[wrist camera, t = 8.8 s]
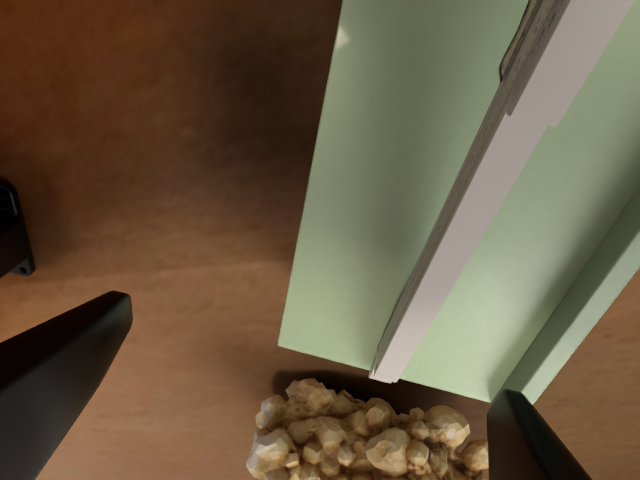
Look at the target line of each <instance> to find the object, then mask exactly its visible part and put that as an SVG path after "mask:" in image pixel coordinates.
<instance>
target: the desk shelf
mask: <svg viewBox="0 0 640 480" xmlns="http://www.w3.org/2000/svg"><path fill="white" fill-rule="evenodd" d="M528 1H529V0H343V1H342V6H341V12H340V17H339V22H338V27H337V33H336V38H335V43H334V49H333V54H332V59H331V64H330V70H329V75H328V80H327V85H326V91H325V96H324V101H323V106H322V112H321V117H320V122H319V127H318V133H317V138H316V143H315V149H314V154H313V159H312V164H311V170H310V175H309V180H308V185H307V191H306V196H305V201H304V206H303V212H302V217H301V222H300V227H299V233H298V238H297V243H296V249H295V254H294V259H293V264H292V270H291V275H290V280H289V285H288V291H287V296H286V301H285V306H284V312H283V317H282V322H281V327H280V333H279V338H278V343H277V345H278V346H280V347H284V348H288V349H291V350H295V351H299V352H302V353H306V354H310V355H314V356H317V357H321V358H325V359H329V360H332V361H336V362H340V363H343V364H347V365H351V366H355V367H358V368H362V369H366V370H370V369H371V367H372V365H373V363H374V361H375V359H376V353H377V348H378V345H379V343H380V341H381V339H382V337H383V334H384V332H385V330H386V328H387V326H388V324H389V322H390V319H391V317H392V315H393V313H394V311H395V309H396V307H397V304H398V302H399V300H400V298H401V296H402V294H403V292H404V290H405V287H406V285H407V283H408V281H409V279H410V277H411V275H412V272H413V270H414V268H415V266H416V264H417V262H418V260H419V258H420V255H421V253H422V251H423V249H424V247H425V245H426V243H427V240H428V238H429V236H430V234H431V232H432V230H433V227H434V225H435V223H436V221H437V219H438V217H439V215H440V212H441V210H442V208H443V206H444V204H445V202H446V199H447V197H448V195H449V193H450V191H451V189H452V186H453V184H454V182H455V180H456V178H457V176H458V174H459V171H460V169H461V167H462V165H463V163H464V161H465V158H466V156H467V154H468V152H469V150H470V148H471V146H472V143H473V141H474V139H475V137H476V135H477V133H478V130H479V128H480V126H481V124H482V122H483V120H484V118H485V115H486V113H487V111H488V109H489V107H490V105H491V102H492V100H493V98H494V96H495V94H496V92H497V89H498V87H499V85H500V78H499V72H498V70H499V66H500V63H501V61H502V59H503V56H504V54H505V52H506V50H507V49H508V47H509V45H510V43H511V41H512V39H513V37H514V35H515V33H516V31H517V29H518V27H519V24H520V22H521V19H522V16H523V14H524V11H525V8H526V6H527V4H528ZM639 268H640V0H635V1H634V2H633V4H632V6H631V7H630V9H629V10H628V12H627V14H626V15H625V17H624V19H623V20H622V22H621V23H620V25H619V27H618V28H617V30H616V32H615V33H614V35H613V36H612V38H611V40H610V41H609V43H608V45H607V46H606V48H605V49H604V51H603V53H602V54H601V56H600V58H599V59H598V61H597V62H596V64H595V66H594V67H593V69H592V71H591V72H590V74H589V75H588V77H587V79H586V80H585V82H584V84H583V85H582V87H581V88H580V90H579V92H578V93H577V95H576V97H575V98H574V100H573V101H572V103H571V105H570V106H569V108H568V110H567V111H566V113H565V114H564V116H563V118H562V119H561V121H560V123H559V124H558V126H557V127H553V126H549V125H548V127H547V128H546V130H545V132H544V134H543V135H542V137H541V139H540V140H539V142H538V144H537V145H536V147H535V149H534V151H533V152H532V154H531V156H530V157H529V159H528V161H527V162H526V164H525V166H524V167H523V169H522V171H521V173H520V174H519V176H518V178H517V179H516V181H515V183H514V184H513V186H512V188H511V190H510V191H509V193H508V195H507V196H506V198H505V200H504V201H503V203H502V205H501V207H500V208H499V210H498V212H497V213H496V215H495V217H494V218H493V220H492V222H491V224H490V225H489V227H488V229H487V230H486V232H485V234H484V235H483V237H482V239H481V240H480V242H479V244H478V246H477V247H476V249H475V251H474V252H473V254H472V256H471V257H470V259H469V261H468V263H467V264H466V266H465V268H464V269H463V271H462V273H461V274H460V276H459V278H458V280H457V281H456V283H455V285H454V286H453V288H452V290H451V291H450V293H449V295H448V296H447V298H446V300H445V302H444V303H443V305H442V307H441V308H440V310H439V312H438V313H437V315H436V317H435V319H434V320H433V322H432V324H431V325H430V327H429V329H428V330H427V332H426V334H425V335H424V337H423V339H422V341H421V342H420V344H419V346H418V347H417V349H416V351H415V352H414V354H413V356H412V357H411V359H410V361H409V362H408V364H407V366H406V367H405V369H404V371H403V373H402V374H401V376H400V378H399V379H403V380H407V381H411V382H414V383H418V384H422V385H425V386H429V387H433V388H437V389H440V390H444V391H448V392H452V393H455V394H459V395H463V396H466V397H470V398H474V399H478V400H481V401H485V402H489V403H491V405H492V403H493V402H494V400H495V399H496V397H497V396H498V394H499V393H500V391H501V390H502V389H505V388H507V389H511V390H515V391H519V392H521V393H523V394H524V395H525V396H526V398H527V399H528V400H529V401H530V403H531V404H532V405H533V404H534V403H535V401H536V400H537V399H538V398H539V396H540V395H541V394H542V392H543V391H544V390H545V389H546V387H547V386H548V385H549V383H550V382H551V381H552V380H553V378H554V377H555V376H556V374H557V373H558V372H559V371H560V369H561V368H562V367H563V365H564V364H565V363H566V362H567V360H568V359H569V358H570V356H571V355H572V354H573V353H574V351H575V350H576V349H577V347H578V346H579V345H580V344H581V342H582V341H583V340H584V338H585V337H586V336H587V335H588V333H589V332H590V331H591V329H592V328H593V327H594V326H595V324H596V323H597V322H598V320H599V319H600V318H601V317H602V315H603V314H604V313H605V311H606V310H607V309H608V308H609V306H610V305H611V304H612V302H613V301H614V300H615V299H616V297H617V296H618V295H619V293H620V292H621V291H622V290H623V288H624V287H625V286H626V284H627V283H628V282H629V281H630V279H631V278H632V277H633V275H634V274H635V273H636V272H637V270H638V269H639Z"/></svg>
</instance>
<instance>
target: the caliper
mask: <svg viewBox="0 0 640 480" xmlns="http://www.w3.org/2000/svg"><path fill="white" fill-rule="evenodd" d="M634 1H635V0H529V1H528V4H527V6H526V8H525V11H524V14H523V16H522V19H521V22H520V24H519V27H518V29H517V31H516V33H515V35H514V37H513V39H512V41H511V43H510V45H509V47H508V49H507V50H506V52H505V54H504V56H503V59H502V61H501V63H500V66H499V70H498V72H499V78H500V85H499V87H498V89H497V92H496V94H495V96H494V98H493V100H492V102H491V105H490V107H489V109H488V111H487V113H486V115H485V118H484V120H483V122H482V124H481V126H480V128H479V130H478V133H477V135H476V137H475V139H474V141H473V143H472V146H471V148H470V150H469V152H468V154H467V156H466V158H465V161H464V163H463V165H462V167H461V169H460V171H459V174H458V176H457V178H456V180H455V182H454V184H453V186H452V189H451V191H450V193H449V195H448V197H447V199H446V202H445V204H444V206H443V208H442V210H441V212H440V215H439V217H438V219H437V221H436V223H435V225H434V227H433V230H432V232H431V234H430V236H429V238H428V240H427V243H426V245H425V247H424V249H423V251H422V253H421V255H420V258H419V260H418V262H417V264H416V266H415V268H414V270H413V272H412V275H411V277H410V279H409V281H408V283H407V285H406V287H405V290H404V292H403V294H402V296H401V298H400V300H399V302H398V304H397V307H396V309H395V311H394V313H393V315H392V317H391V319H390V322H389V324H388V326H387V328H386V330H385V332H384V334H383V337H382V339H381V341H380V343H379V345H378V348H377V353H376V359H375V361H374V363H373V365H372V367H371V369H370V372H369V375H368V378H371V379H375V380H378V381H382V382H386V383H390V384H391V382H395V383H397V381H398V379H399V378H400V376H401V374H402V373H403V371H404V369H405V367H406V366H407V364H408V362H409V361H410V359H411V357H412V356H413V354H414V352H415V351H416V349H417V347H418V346H419V344H420V342H421V341H422V339H423V337H424V335H425V334H426V332H427V330H428V329H429V327H430V325H431V324H432V322H433V320H434V319H435V317H436V315H437V313H438V312H439V310H440V308H441V307H442V305H443V303H444V302H445V300H446V298H447V296H448V295H449V293H450V291H451V290H452V288H453V286H454V285H455V283H456V281H457V280H458V278H459V276H460V274H461V273H462V271H463V269H464V268H465V266H466V264H467V263H468V261H469V259H470V257H471V256H472V254H473V252H474V251H475V249H476V247H477V246H478V244H479V242H480V240H481V239H482V237H483V235H484V234H485V232H486V230H487V229H488V227H489V225H490V224H491V222H492V220H493V218H494V217H495V215H496V213H497V212H498V210H499V208H500V207H501V205H502V203H503V201H504V200H505V198H506V196H507V195H508V193H509V191H510V190H511V188H512V186H513V184H514V183H515V181H516V179H517V178H518V176H519V174H520V173H521V171H522V169H523V167H524V166H525V164H526V162H527V161H528V159H529V157H530V156H531V154H532V152H533V151H534V149H535V147H536V145H537V144H538V142H539V140H540V139H541V137H542V135H543V134H544V132H545V130H546V128H547V127H548V125H549V126H553V127H557V126H558V124H559V123H560V121H561V119H562V118H563V116H564V114H565V113H566V111H567V110H568V108H569V106H570V105H571V103H572V101H573V100H574V98H575V97H576V95H577V93H578V92H579V90H580V88H581V87H582V85H583V84H584V82H585V80H586V79H587V77H588V75H589V74H590V72H591V71H592V69H593V67H594V66H595V64H596V62H597V61H598V59H599V58H600V56H601V54H602V53H603V51H604V49H605V48H606V46H607V45H608V43H609V41H610V40H611V38H612V36H613V35H614V33H615V32H616V30H617V28H618V27H619V25H620V23H621V22H622V20H623V19H624V17H625V15H626V14H627V12H628V10H629V9H630V7H631V6H632V4H633V2H634Z"/></svg>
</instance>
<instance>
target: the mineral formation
mask: <svg viewBox="0 0 640 480" xmlns="http://www.w3.org/2000/svg"><path fill="white" fill-rule="evenodd" d="M285 391H286V393H287V395H288V397H289V400H288V401H287V402H285V401H284V400H283V398H282V397H281V396H278V395H273V396H271V397H270V398H268V399H266V400H264V401H262V402H261V411H260V412H259V413H258V414H257V415H256V416H255V417H256V429H255V434H254V440H253V445H252V449H251V453H250V455H249V458H248V460H247V468H248V470H249V471H250V472H251V474H252V475H253V477H254V478H258V479H260V480H486V479H485V477H484V475H483V471H484V470H486V469H487V468H489V466H488V440H476V441H470V442H469V443H468V445H467V446H466V447H465V448H464V450H463V451H462V452H461V454H460V453H457V452H456V451H455V448H456V447H457V446H459V445H460V444H462V442H463V441H464V439H465V438H466V436H467V435H469V434H470V428H469V423H468V421H467V419H466V418H465V416H464V415H463V414H462V413H461V412H460V411H457V410H455V409H453V408H451V407H448V406H446V405H439V406H434V407H432V408H431V409H429V410H428V411H427V412H425V413H424V412H423V410H421V409H420V408H418V407H417V408H414V409H411V410H410V415H406V414H402V413H400V415H397V414H396V413H395V411H394V410H393V409H392V407H391V406H390V404H389V403H388V402H386V401H385V400H383V399H381V398H371V399H370V400H369V401H367V402H366V403H365V402H363V401H362V400H360V399H354V398H353V396H352V395H351V394H349V393H348V392H346V391H345V390H344V389H343V390H342V391H340V392H339V393H338V394H337V395H336V393H335V391H334V390H327V389H326V388H325V386H324V385H323V383H322V382H321V383H319V382H318V381H317V380H316V379H315V378H309V379H303V380H302V381H293V382H292V383H291V385H290V386H289V387H288V388H287V389H286V390H285Z"/></svg>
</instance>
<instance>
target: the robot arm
mask: <svg viewBox="0 0 640 480" xmlns="http://www.w3.org/2000/svg"><path fill="white" fill-rule="evenodd" d="M8 272H12V273H16V274H19V275H23V276H30V275H31V274H32V273H34V272H35V264H34V260H33V256H32V252H31V248H30V244H29V240H28V236H27V232H26V228H25V223H24V219H23V215H22V211H21V207H20V203H19V199H18V195H17V192H16V189H15V188H14V187H13V186H12V185H10V184H8V183H5V182H2V181H0V278H1V277H3V276H4V275H6V274H7V273H8ZM132 321H133V315H132V304H131V297H130V295H129V294H126V293H122V292H118V291H110V292H107V293H105V294H103V295H101V296H99V297H97V298H95V299H93V300H90V301H88V302H86V303H84V304H82V305H80V306H78V307H76V308H73V309H71V310H69V311H67V312H65V313H63V314H61V315H59V316H56V317H54V318H52V319H50V320H48V321H46V322H44V323H42V324H39V325H37V326H35V327H33V328H31V329H29V330H27V331H25V332H22V333H20V334H18V335H16V336H14V337H12V338H10V339H8V340H5V341H3V342H1V343H0V480H35V479H36V478H37V476H38V475H39V473H40V472H41V470H42V469H43V467H44V466H45V464H46V463H47V462H48V460H49V459H50V457H51V456H52V454H53V453H54V451H55V450H56V448H57V447H58V445H59V444H60V443H61V441H62V440H63V438H64V437H65V435H66V434H67V432H68V431H69V429H70V428H71V426H72V425H73V424H74V422H75V421H76V419H77V418H78V416H79V415H80V413H81V412H82V410H83V409H84V407H85V406H86V405H87V403H88V402H89V400H90V399H91V397H92V396H93V394H94V393H95V391H96V390H97V388H98V387H99V385H100V383H101V382H102V380H103V378H104V376H105V375H106V373H107V371H108V369H109V367H110V365H111V364H112V362H113V360H114V358H115V356H116V354H117V352H118V350H119V349H120V347H121V345H122V343H123V341H124V339H125V337H126V336H127V334H128V332H129V330H130V328H131V325H132ZM487 438H488V466H489V480H592V479H591V478H590V476H589V475H588V474H587V473H586V471H585V470H584V469H583V468H582V466H581V465H580V464H579V463H578V461H577V460H576V459H575V458H574V456H573V455H572V454H571V453H570V451H569V450H568V449H567V448H566V446H565V445H564V444H563V443H562V441H561V440H560V439H559V438H558V436H557V435H556V434H555V433H554V431H553V430H552V429H551V428H550V426H549V425H548V424H547V423H546V421H545V420H544V419H543V418H542V416H541V415H540V414H539V413H538V411H537V410H536V409H535V408H534V406H533V405H532V404H531V403H530V401H529V400H528V399H527V398H526V396H525V395H524V394H523V393H521V392H519V391H515V390H511V389H507V388H505V389H502V390H501V391H500V393H499V394H498V396H497V397H496V399H495V400H494V402H493V403H492V405H491V406H490V408H489V410H488V413H487Z"/></svg>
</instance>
